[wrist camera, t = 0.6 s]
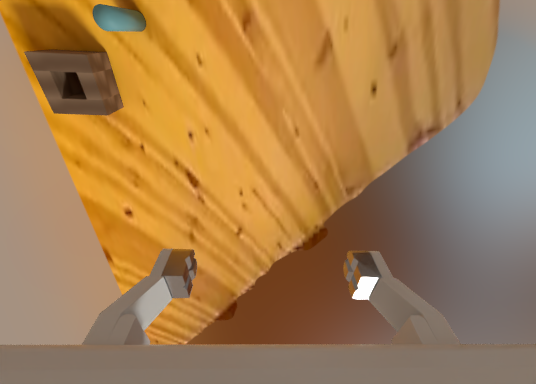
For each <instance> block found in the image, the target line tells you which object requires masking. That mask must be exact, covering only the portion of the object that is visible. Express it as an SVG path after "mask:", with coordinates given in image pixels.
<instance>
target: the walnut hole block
mask: <svg viewBox="0 0 536 384" xmlns="http://www.w3.org/2000/svg"><path fill="white" fill-rule="evenodd" d="M24 53H25V55H26V57H27V59H28V61H29V63H30V65H31V67H32V69H33V71H34V73H35V75H36V77H37V79H38V81H39V84H40V86H41V88H42V90H43V92H44V94H45V96H46V98H47V100H48V102H49V104H50V106H51V108H52V110H53V112H54V113H59V114H85V115H109V114H111V113H113V112H115V111H117V110H119V109H121V108H123V103H122V100H121V97H120V94H119V91H118V87H117V84H116V81H115V78H114V74H113V71H112V68H111V65H110V61H109V58H108V55H107V52H91V51H70V50H40V51H27V52H24ZM76 72H77V74H76ZM77 75H78V77H77ZM78 78H79V80H80V82H79V80H78ZM80 83H81V85H82V87H81V85H80ZM82 88H83V90H84V92H83V90H82Z"/></svg>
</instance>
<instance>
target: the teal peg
mask: <svg viewBox="0 0 536 384" xmlns="http://www.w3.org/2000/svg"><path fill="white" fill-rule="evenodd" d="M93 17H94V20H95V22H96V23H97V25H98V26H99V27H100V28H102V29H103V30H106V31H143V30H144V29H145V27H146V21H145V18H144V16H143V15H142V14H141V13H140V12H138V11H136V10H130V9H125V8H119V7H113V6H108V5H102V4H98V5H96V6H95V7H94V9H93Z"/></svg>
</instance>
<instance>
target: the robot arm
mask: <svg viewBox="0 0 536 384" xmlns="http://www.w3.org/2000/svg"><path fill="white" fill-rule="evenodd" d="M194 255H195V253H194V250H190V249H163V250H162V251H161V252H160V254H159V257H158V259H157V261H156V263H155V265H154V267H153V269H152V271H151V274H150V276H146V277H145V278H144V279H142V280H141V281H140V282H139V283H137V284H136V285H135V286H134V287H132V288H131V289H130V290H129V291H127V292H126V293H125V294H124V295H122V296H121V297H120V298H119V299H117V300H116V301H115V302H114V303H112V304H111V305H110V306H109V307H107V308H106V309H105V310H104V311H102V312H101V313H100V314H99V316H98V318H97V319H96V321H95V323H94V325H93V326H92V328H91V330H90V331H89V333H88V335H87V337H86V338H85V340H84V342H83V343H82V345H0V384H536V344H460V342H459V340H458V339H457V337H456V336H455V334H454V332H453V331H452V329H451V328H450V326H449V324H448V323H447V321H446V320H445V318H444V316H443V315H442V314H441V313H440V312H438V311H437V310H436V309H435V308H433V307H432V306H431V305H430V304H428V303H427V302H426V301H424V300H423V299H422V298H421V297H419V296H418V295H417V294H416V293H414V292H413V291H412V290H410V289H409V288H408V287H407V286H405V285H404V284H403V283H402V282H400V281H399V280H398V279H396V278H393V277H392V275H391V273H390V271H389V269H388V267H387V265H386V263H385V261H384V260H383V258H382V256H381V254H380V253H379V252H378V251H349V252H348V254H347V257H348V259H347V260H346V261H345V262H344V275H345V278H346V280H348V281H349V282H350V283H349V286H348V287H349V290H350V293H351V296H352V298H353V299H369V301H370V302H371V303H372V304H373V306H375V308H376V309H377V310H378V311H379V312H380V313H381V314H382V315H383V316H384V318H385V319H386V320H387V321H388V322H389V323H390V324H391V325H392V326H393V328H394V329H395V330H396V331H397V334H396V335H395V336H394V337H393V339H392V340H391V343H392V344H362V345H361V344H353V345H352V344H349V345H348V344H344V345H343V344H335V345H334V344H328V345H327V344H326V345H325V344H321V345H320V344H318V345H317V344H315V345H314V344H313V345H312V344H308V345H305V344H304V345H303V344H298V345H297V344H295V345H294V344H292V345H289V344H285V345H149V344H150V340H149V338H148V337H147V335H146V333H145V332H144V330H145V329H146V328H147V327H148V326H149V325H150V324H151V322H152V321H153V320H154V319H155V318H156V317H157V316H158V315H159V313H160V312H161V311H162V310H163V309H164V308H165V307H166V306H167V305H168V303H169V302H170V301H171V300H172V298H189V297H190V293H191V290H192V286H193V285H192V280H193V279H194V278H195V276H196V271H197V261H196V259H195V258H194Z"/></svg>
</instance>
